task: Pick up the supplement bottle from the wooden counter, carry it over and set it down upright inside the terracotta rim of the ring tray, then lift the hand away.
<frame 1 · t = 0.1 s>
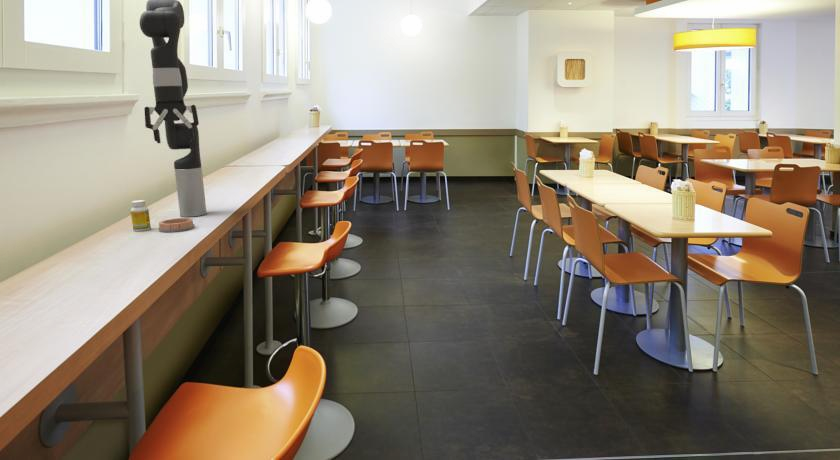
hand: (174, 142, 181), 29 cm above the counter, fingers open, 8 cm apart
ring tray: (176, 228, 205), on the counter
supplement bottle: (142, 230, 206), on the counter
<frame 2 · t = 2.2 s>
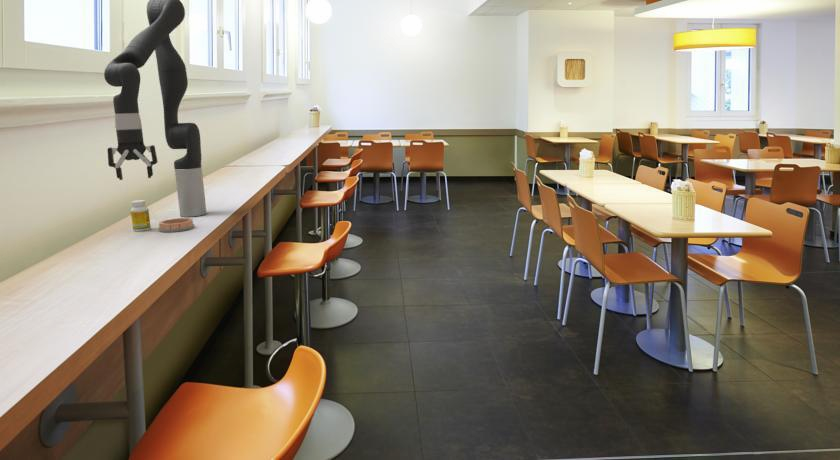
hand: (135, 178, 202), 17 cm above the counter, fingers open, 8 cm apart
nothing on the counter moved.
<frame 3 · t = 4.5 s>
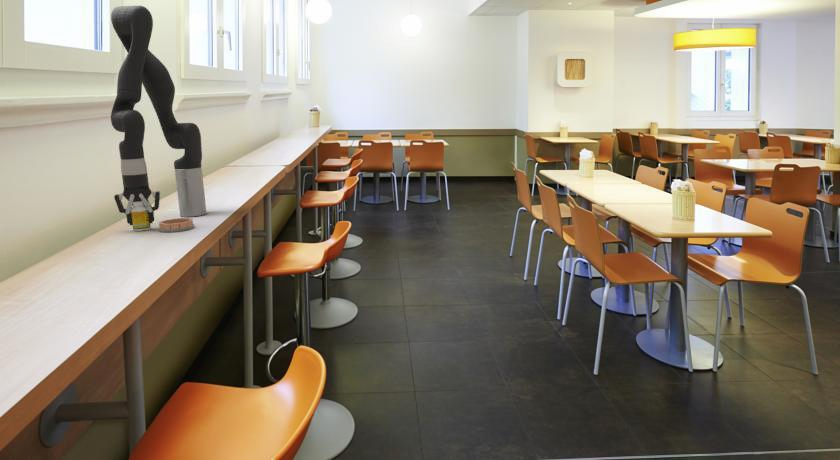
hand: (141, 223, 205), 2 cm above the counter, fingers closed on supplement bottle, 5 cm apart
supplement bottle: (142, 230, 206), on the counter, touching gripper
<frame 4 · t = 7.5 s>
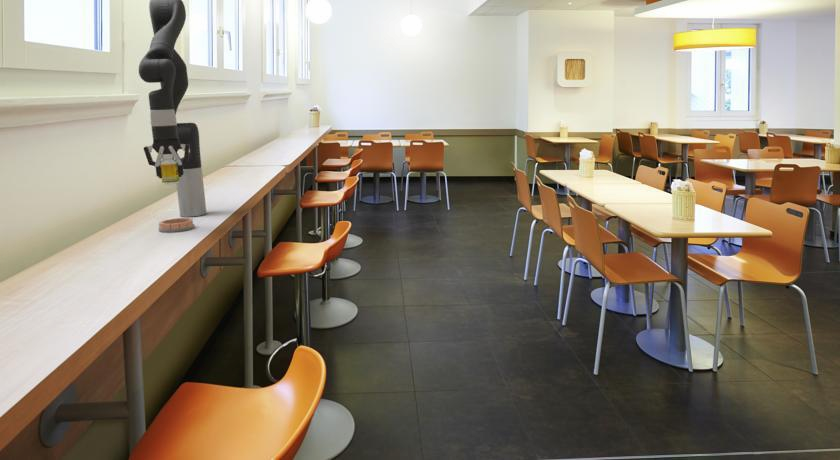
hand: (170, 177, 201), 17 cm above the counter, fingers closed on supplement bottle, 5 cm apart
supplement bottle: (171, 184, 202), point 15 cm above the counter, touching gripper
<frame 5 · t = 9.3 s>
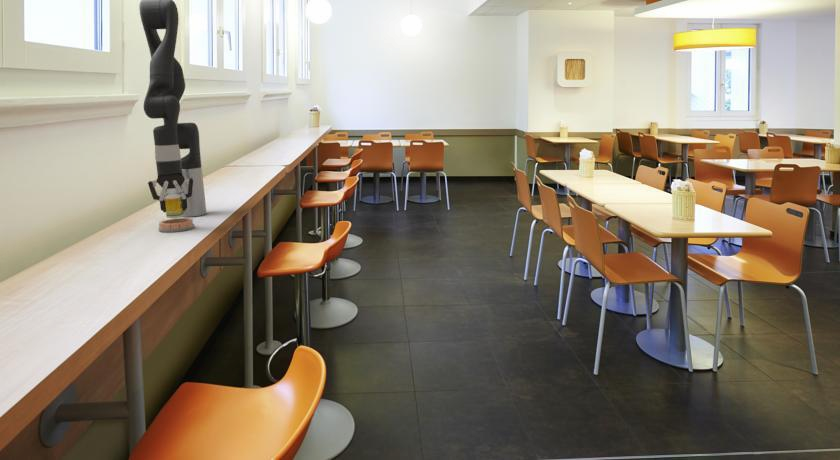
hand: (174, 211, 203), 6 cm above the counter, fingers closed on supplement bottle, 5 cm apart
supplement bottle: (175, 217, 204), point 4 cm above the counter, touching gripper
when the fingers open (4 cm above the counter, at t = 10.6 s): supplement bottle drops 1 cm, resting on ring tray.
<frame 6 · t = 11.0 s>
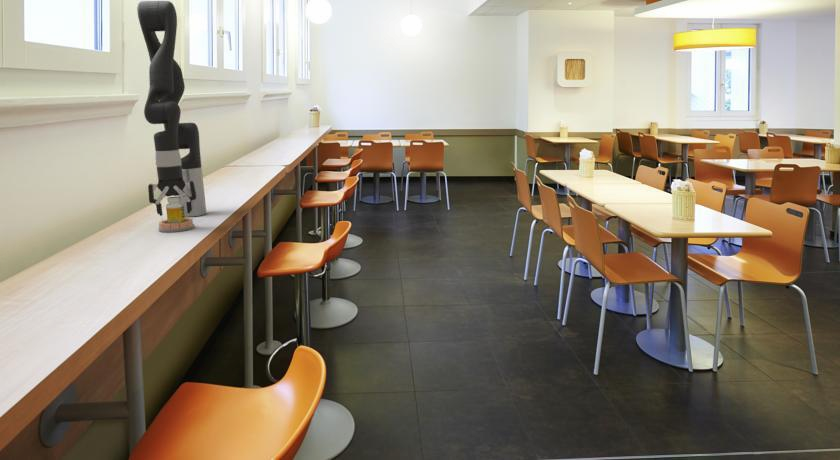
hand: (175, 214, 204), 5 cm above the counter, fingers open, 8 cm apart
supplement bottle: (177, 226, 205), point 1 cm above the counter, touching ring tray
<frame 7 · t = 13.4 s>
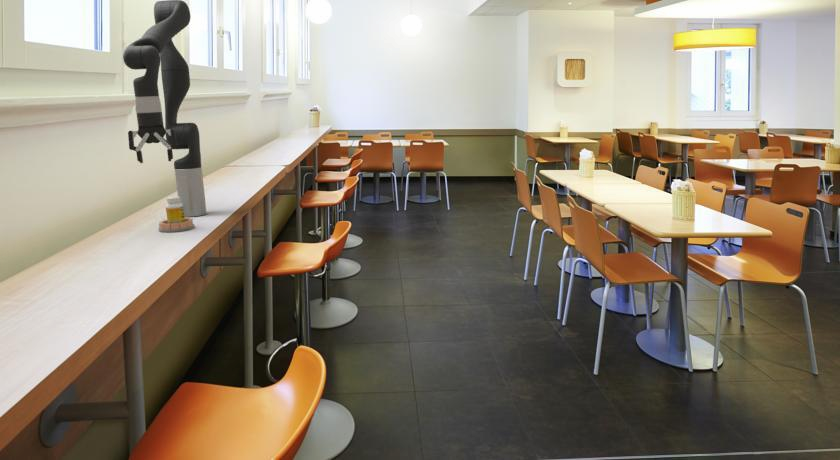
hand: (155, 162, 202), 22 cm above the counter, fingers open, 8 cm apart
nothing on the counter moved.
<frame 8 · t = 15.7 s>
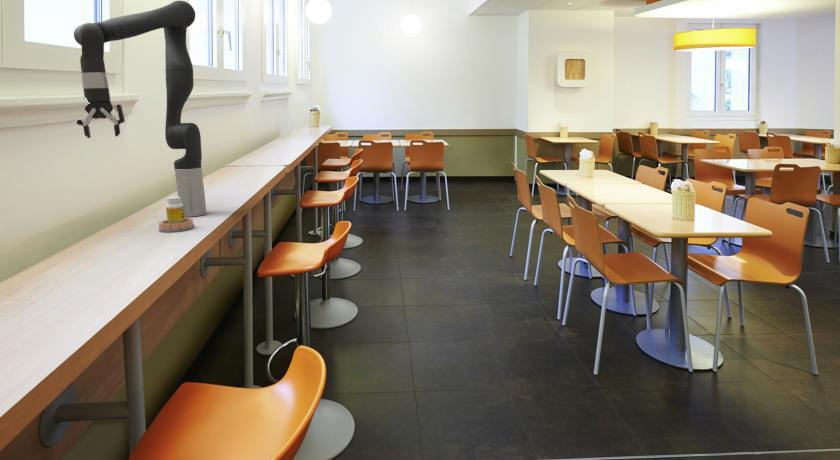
hand: (103, 137, 209), 30 cm above the counter, fingers open, 8 cm apart
nothing on the counter moved.
at the end: supplement bottle 0.1 cm off-centre on the ring tray, point 0.6 cm above the ring tray's base; supplement bottle tilted 0°; the gripper is holding nothing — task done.
